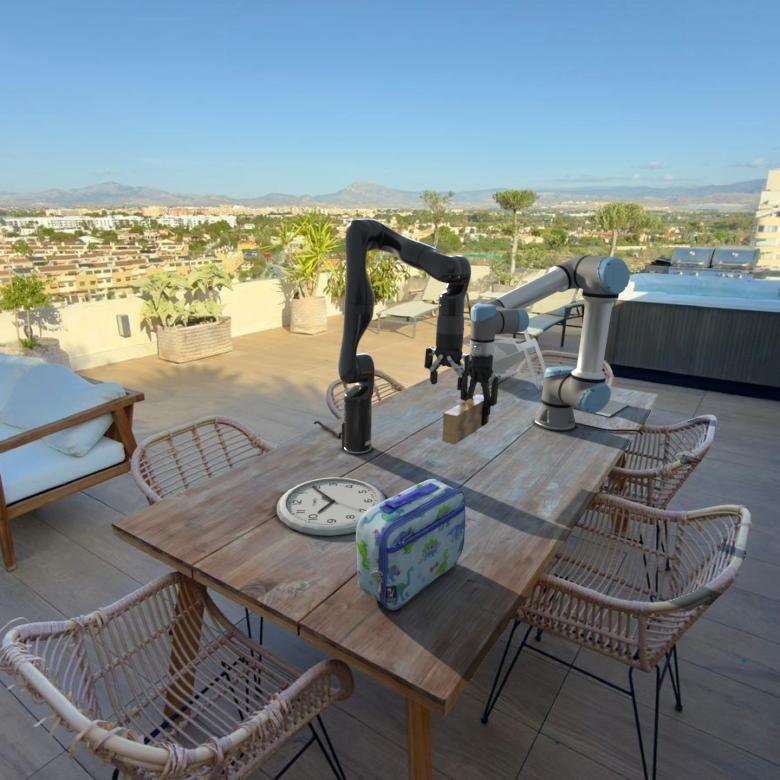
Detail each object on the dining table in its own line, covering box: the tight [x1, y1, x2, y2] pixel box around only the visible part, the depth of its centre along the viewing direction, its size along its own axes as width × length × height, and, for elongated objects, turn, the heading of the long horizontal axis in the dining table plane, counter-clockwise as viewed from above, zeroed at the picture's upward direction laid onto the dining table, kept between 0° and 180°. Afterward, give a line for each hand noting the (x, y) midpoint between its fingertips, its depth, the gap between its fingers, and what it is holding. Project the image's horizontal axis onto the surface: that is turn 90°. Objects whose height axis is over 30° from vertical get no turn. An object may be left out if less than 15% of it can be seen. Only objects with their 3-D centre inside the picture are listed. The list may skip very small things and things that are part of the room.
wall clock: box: [276, 476, 387, 537], centre depth 142 cm, size 30×2×30 cm
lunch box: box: [355, 478, 466, 611], centre depth 110 cm, size 26×11×21 cm, turn 134°
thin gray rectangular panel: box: [575, 399, 629, 418], centre depth 226 cm, size 21×1×15 cm
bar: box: [441, 393, 490, 445], centre depth 165 cm, size 23×4×9 cm, turn 144°
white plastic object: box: [492, 328, 548, 391], centre depth 259 cm, size 37×45×31 cm
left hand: (446, 386), depth 149 cm, fingers open, 8 cm apart
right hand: (476, 422), depth 172 cm, fingers closed on bar, 4 cm apart
